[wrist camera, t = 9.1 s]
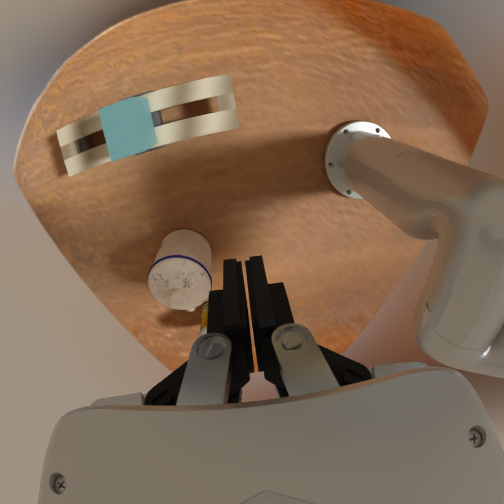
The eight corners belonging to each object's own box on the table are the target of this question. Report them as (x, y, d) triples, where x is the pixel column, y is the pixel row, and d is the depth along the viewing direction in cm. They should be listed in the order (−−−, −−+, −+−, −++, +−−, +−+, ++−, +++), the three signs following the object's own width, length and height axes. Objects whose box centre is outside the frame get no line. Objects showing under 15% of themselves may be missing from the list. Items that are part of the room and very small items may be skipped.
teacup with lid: (152, 231, 42) (133, 273, 32) (208, 223, 42) (204, 265, 32) (169, 290, 48) (160, 339, 38) (219, 285, 48) (220, 334, 38)
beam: (228, 74, 31) (229, 70, 27) (237, 128, 35) (240, 132, 31) (72, 123, 31) (55, 127, 27) (84, 170, 35) (69, 180, 31)
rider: (151, 97, 29) (132, 96, 22) (160, 140, 32) (145, 151, 25) (122, 107, 29) (98, 109, 22) (132, 148, 32) (111, 161, 25)
